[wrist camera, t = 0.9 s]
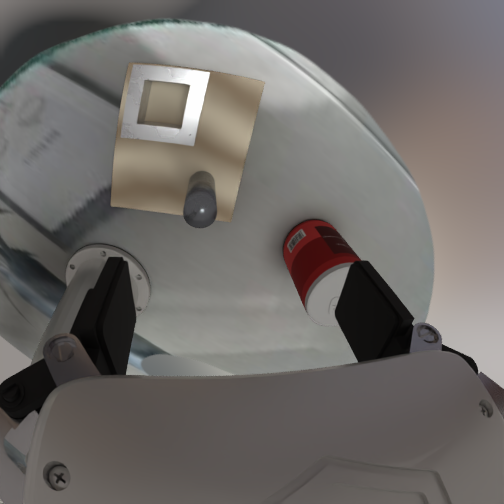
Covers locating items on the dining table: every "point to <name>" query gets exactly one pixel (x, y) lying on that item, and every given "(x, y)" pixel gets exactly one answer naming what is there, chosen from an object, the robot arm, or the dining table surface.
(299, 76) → the dining table surface
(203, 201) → the pin
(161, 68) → the collar
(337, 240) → the canned food
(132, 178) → the board
